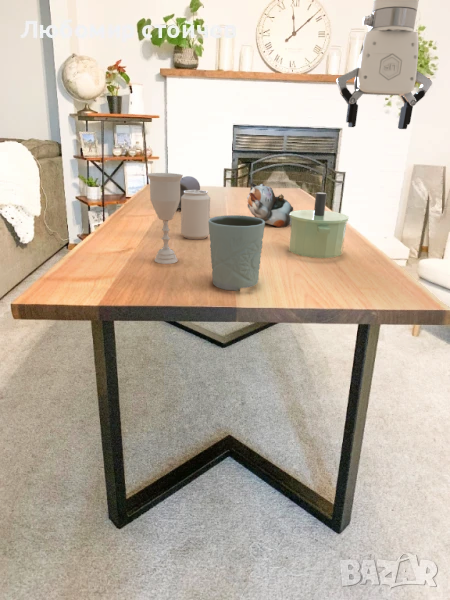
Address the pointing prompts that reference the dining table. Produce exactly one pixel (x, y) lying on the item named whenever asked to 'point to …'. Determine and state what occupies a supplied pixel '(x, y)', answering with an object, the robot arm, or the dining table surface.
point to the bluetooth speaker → (188, 186)
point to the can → (195, 214)
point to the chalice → (165, 208)
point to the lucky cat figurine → (269, 206)
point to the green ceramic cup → (235, 250)
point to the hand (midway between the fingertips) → (376, 127)
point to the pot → (316, 239)
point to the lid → (319, 213)
